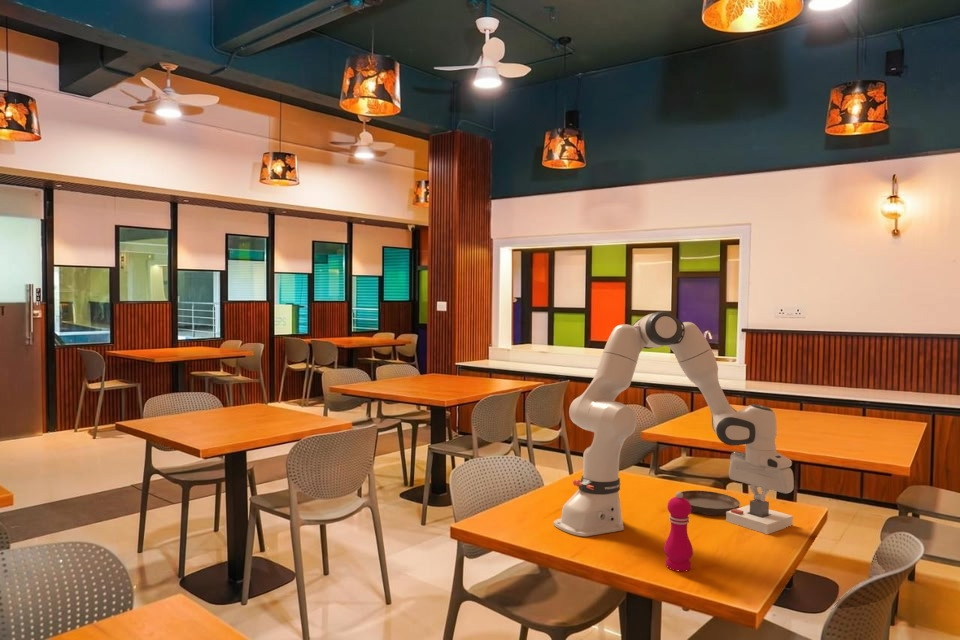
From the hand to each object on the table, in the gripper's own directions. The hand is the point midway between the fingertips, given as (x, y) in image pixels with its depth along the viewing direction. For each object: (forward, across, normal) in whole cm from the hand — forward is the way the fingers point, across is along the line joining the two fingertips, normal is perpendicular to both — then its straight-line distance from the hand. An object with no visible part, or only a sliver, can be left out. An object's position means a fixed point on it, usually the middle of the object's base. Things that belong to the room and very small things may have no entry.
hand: (759, 500), depth 204 cm
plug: (+7, 0, 0) cm, 7 cm away
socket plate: (+7, 0, 0) cm, 7 cm away
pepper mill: (+8, +7, -49) cm, 50 cm away
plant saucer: (+8, -19, 0) cm, 21 cm away
